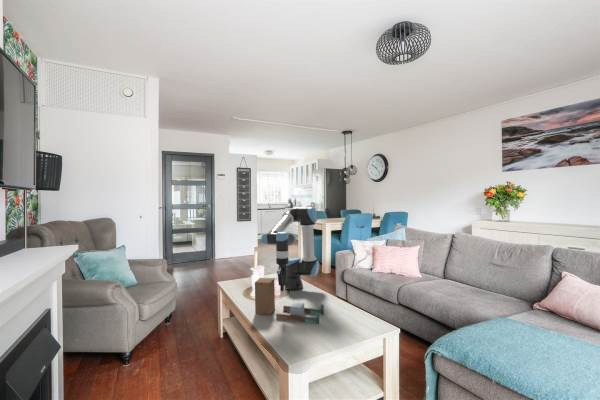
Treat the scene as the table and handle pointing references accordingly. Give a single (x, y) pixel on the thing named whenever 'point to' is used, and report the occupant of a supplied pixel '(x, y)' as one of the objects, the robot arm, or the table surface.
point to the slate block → (297, 309)
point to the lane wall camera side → (298, 318)
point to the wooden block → (264, 296)
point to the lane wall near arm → (308, 310)
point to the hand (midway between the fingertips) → (282, 295)
